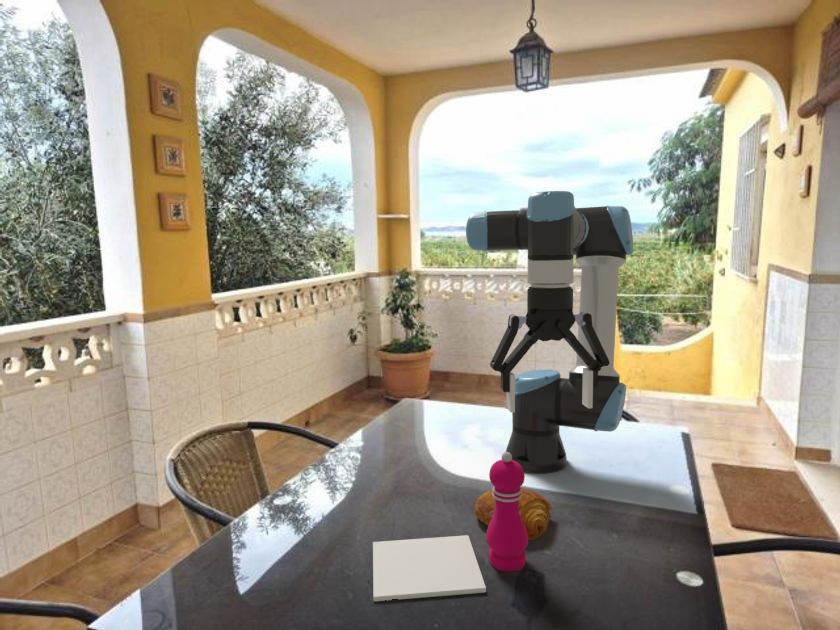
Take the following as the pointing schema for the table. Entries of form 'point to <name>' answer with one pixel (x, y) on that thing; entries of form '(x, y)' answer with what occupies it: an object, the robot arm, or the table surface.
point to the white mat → (425, 568)
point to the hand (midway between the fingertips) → (549, 408)
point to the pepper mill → (507, 516)
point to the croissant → (530, 510)
